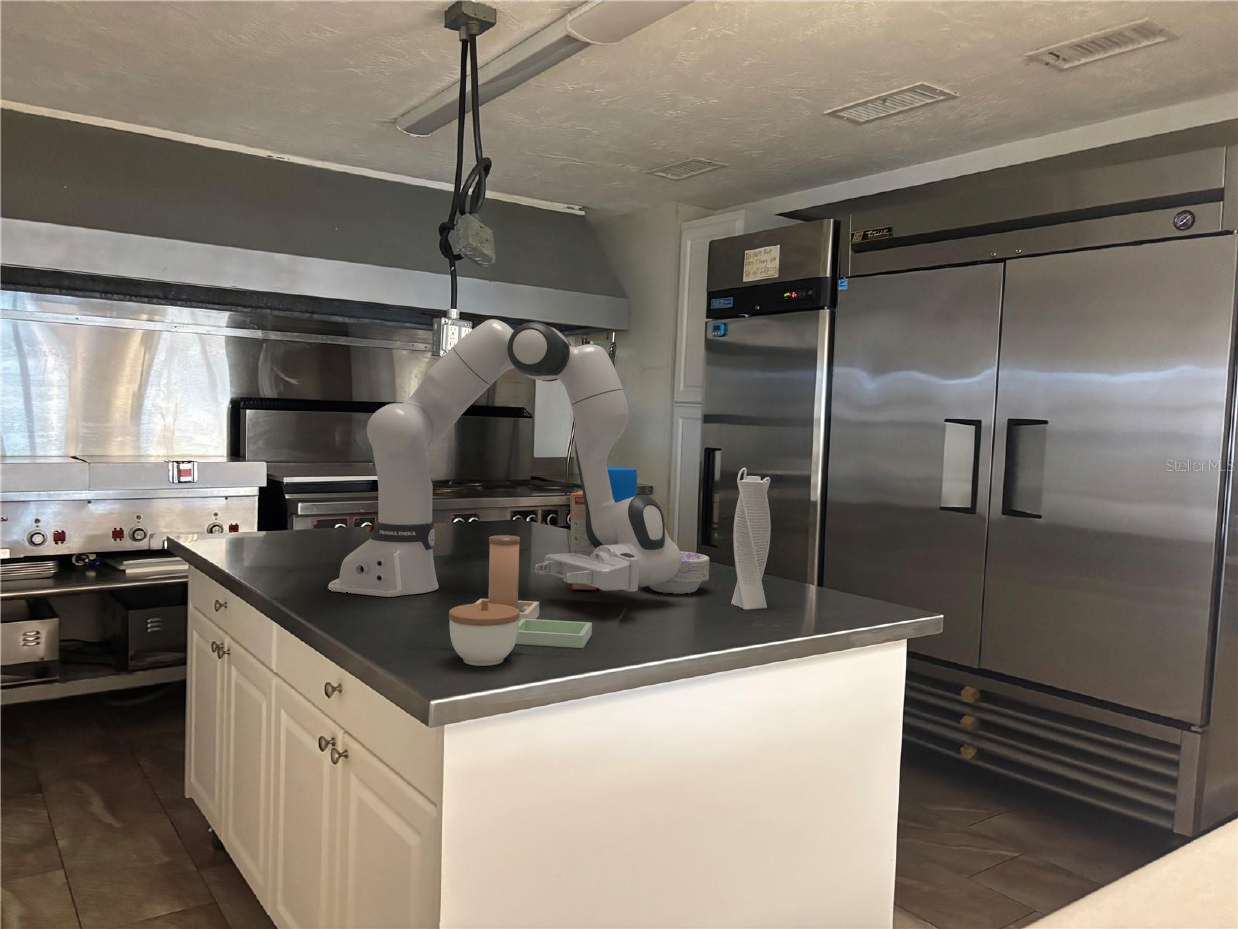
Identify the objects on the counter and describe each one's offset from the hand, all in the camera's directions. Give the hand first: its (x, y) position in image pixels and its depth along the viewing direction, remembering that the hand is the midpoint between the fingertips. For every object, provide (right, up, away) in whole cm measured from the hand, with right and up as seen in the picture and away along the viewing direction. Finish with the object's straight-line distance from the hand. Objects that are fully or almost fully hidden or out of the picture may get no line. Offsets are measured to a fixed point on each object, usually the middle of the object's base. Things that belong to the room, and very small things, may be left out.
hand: (550, 573), depth 167 cm
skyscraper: (+39, -9, +17) cm, 43 cm away
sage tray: (+1, -10, -18) cm, 20 cm away
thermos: (+11, -6, +51) cm, 52 cm away
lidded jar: (-8, -10, -28) cm, 31 cm away
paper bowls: (+25, -8, +31) cm, 40 cm away
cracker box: (+7, -7, +33) cm, 34 cm away
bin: (-14, -8, -5) cm, 17 cm away
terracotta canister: (-8, -7, -6) cm, 13 cm away
